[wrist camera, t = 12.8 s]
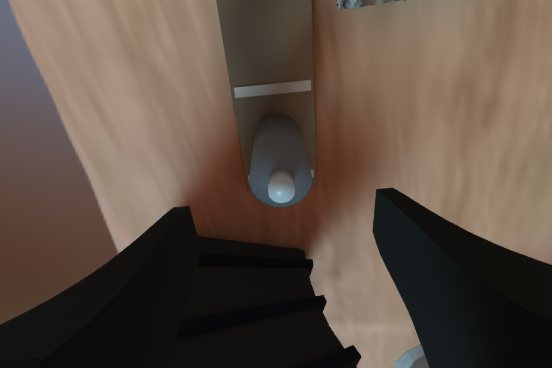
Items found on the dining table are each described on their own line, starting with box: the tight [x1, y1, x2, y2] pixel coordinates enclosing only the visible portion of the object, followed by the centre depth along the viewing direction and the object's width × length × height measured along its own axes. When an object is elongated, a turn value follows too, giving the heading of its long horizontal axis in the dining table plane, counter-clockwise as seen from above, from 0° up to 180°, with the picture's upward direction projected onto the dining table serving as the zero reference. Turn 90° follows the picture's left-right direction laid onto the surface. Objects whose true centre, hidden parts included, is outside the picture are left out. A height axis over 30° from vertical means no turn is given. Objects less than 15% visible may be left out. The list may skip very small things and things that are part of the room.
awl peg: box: [249, 114, 312, 207], centre depth 16 cm, size 3×3×7 cm
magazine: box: [171, 237, 361, 368], centre depth 21 cm, size 4×13×15 cm, turn 79°
